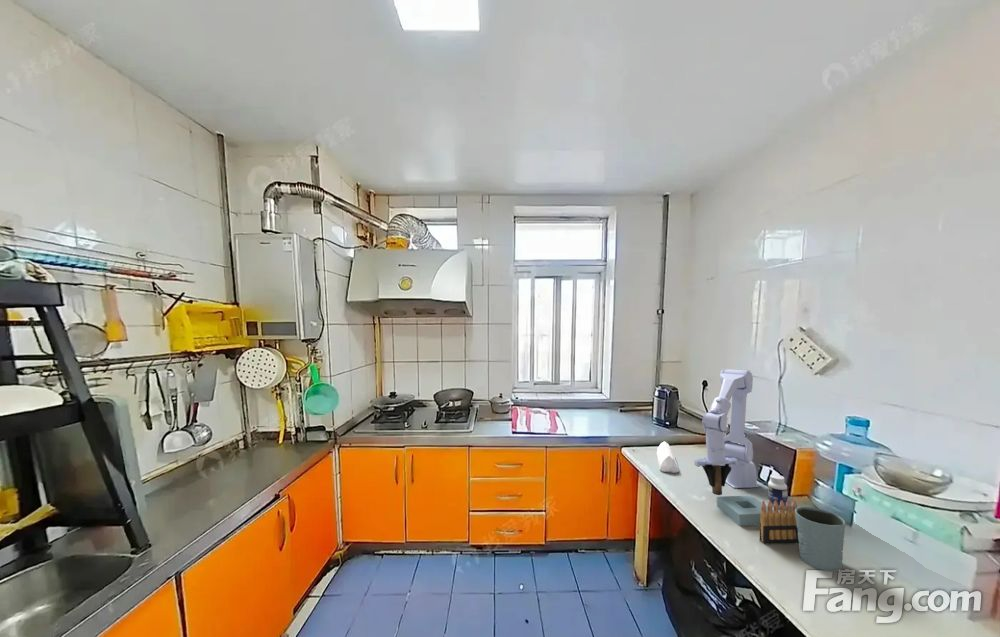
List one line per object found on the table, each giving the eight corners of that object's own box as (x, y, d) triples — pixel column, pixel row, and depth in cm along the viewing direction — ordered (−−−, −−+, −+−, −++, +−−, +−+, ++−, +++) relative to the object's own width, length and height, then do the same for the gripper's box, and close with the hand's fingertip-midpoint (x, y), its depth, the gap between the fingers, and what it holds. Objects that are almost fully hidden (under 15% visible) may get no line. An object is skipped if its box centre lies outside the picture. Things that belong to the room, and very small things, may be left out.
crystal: (684, 466, 157) (677, 447, 180) (667, 456, 159) (662, 438, 182) (675, 480, 158) (669, 460, 181) (658, 470, 160) (654, 451, 183)
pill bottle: (764, 503, 132) (763, 475, 132) (774, 500, 134) (773, 472, 134) (781, 510, 127) (780, 481, 127) (791, 506, 129) (790, 477, 129)
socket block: (751, 505, 130) (751, 495, 130) (777, 524, 118) (777, 513, 118) (717, 506, 130) (716, 496, 130) (739, 525, 118) (739, 514, 118)
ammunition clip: (763, 544, 108) (762, 502, 109) (759, 540, 110) (757, 499, 110) (801, 543, 108) (800, 501, 108) (796, 539, 110) (795, 498, 110)
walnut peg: (718, 491, 137) (717, 464, 137) (723, 494, 134) (722, 467, 134) (710, 491, 137) (709, 465, 137) (715, 495, 134) (714, 468, 134)
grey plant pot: (788, 556, 103) (786, 511, 103) (809, 545, 107) (807, 502, 107) (834, 578, 94) (832, 529, 94) (855, 566, 98) (853, 519, 98)
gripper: (701, 451, 131) (702, 491, 131) (742, 450, 131) (744, 489, 131) (690, 445, 138) (692, 482, 138) (730, 443, 138) (731, 481, 138)
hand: (716, 485), depth 135 cm, fingers closed on walnut peg, 3 cm apart
